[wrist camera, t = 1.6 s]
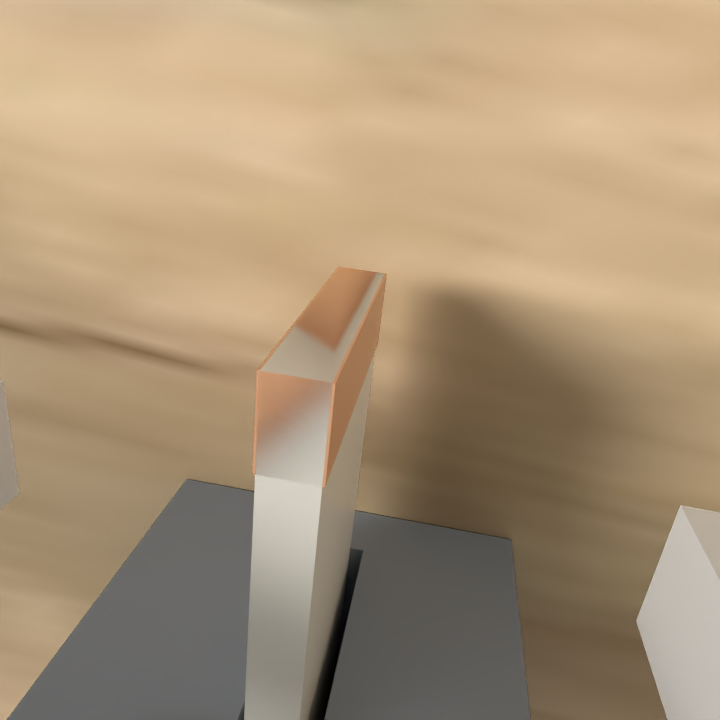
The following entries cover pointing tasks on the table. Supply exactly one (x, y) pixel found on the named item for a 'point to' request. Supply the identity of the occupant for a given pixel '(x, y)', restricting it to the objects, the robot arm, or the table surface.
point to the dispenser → (231, 615)
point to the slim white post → (308, 494)
